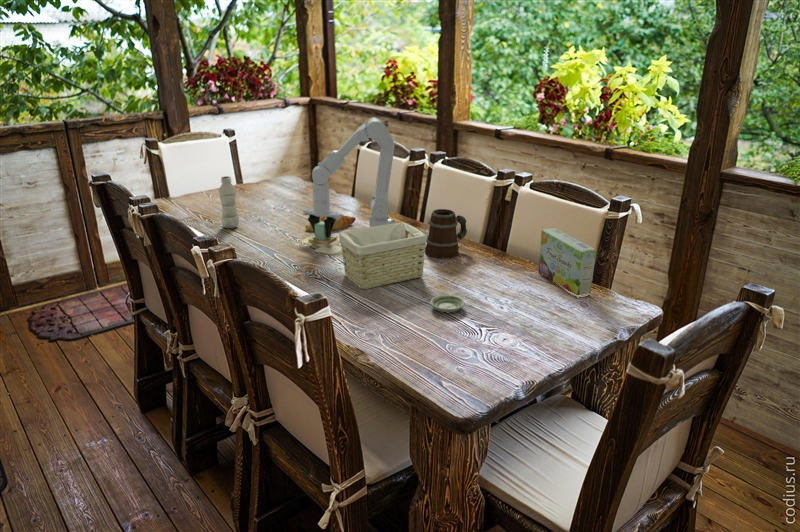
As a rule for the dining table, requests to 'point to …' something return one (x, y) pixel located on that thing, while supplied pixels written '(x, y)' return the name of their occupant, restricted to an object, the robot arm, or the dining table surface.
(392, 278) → the storage basket
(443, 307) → the saucer
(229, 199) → the plastic bottle
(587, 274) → the snack box
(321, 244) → the pocket board
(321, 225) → the block
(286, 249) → the dining table surface
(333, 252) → the coaster
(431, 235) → the mug
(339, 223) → the croissant
